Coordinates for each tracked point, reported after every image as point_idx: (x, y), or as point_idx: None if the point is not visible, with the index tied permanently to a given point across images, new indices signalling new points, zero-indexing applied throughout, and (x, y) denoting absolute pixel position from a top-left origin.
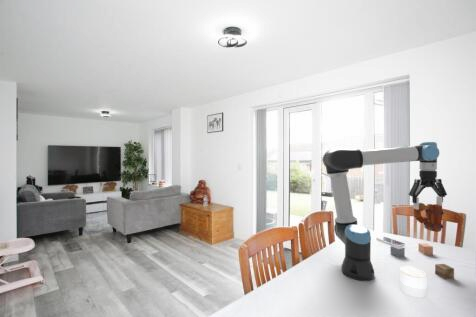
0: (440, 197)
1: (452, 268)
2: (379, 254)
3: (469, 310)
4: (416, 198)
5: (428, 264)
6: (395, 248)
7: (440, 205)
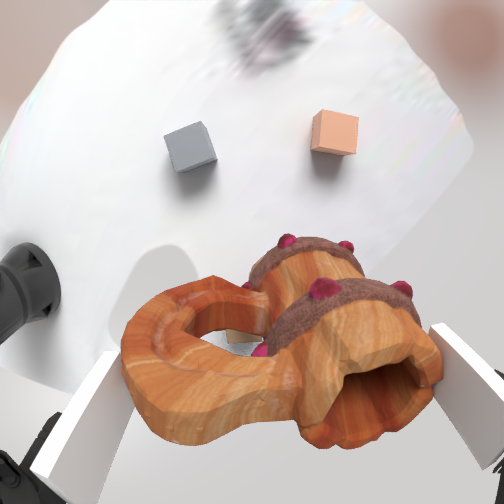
0: (483, 460)
1: (257, 340)
2: (129, 148)
3: None
4: (70, 489)
5: (257, 235)
6: (171, 158)
7: (419, 410)
